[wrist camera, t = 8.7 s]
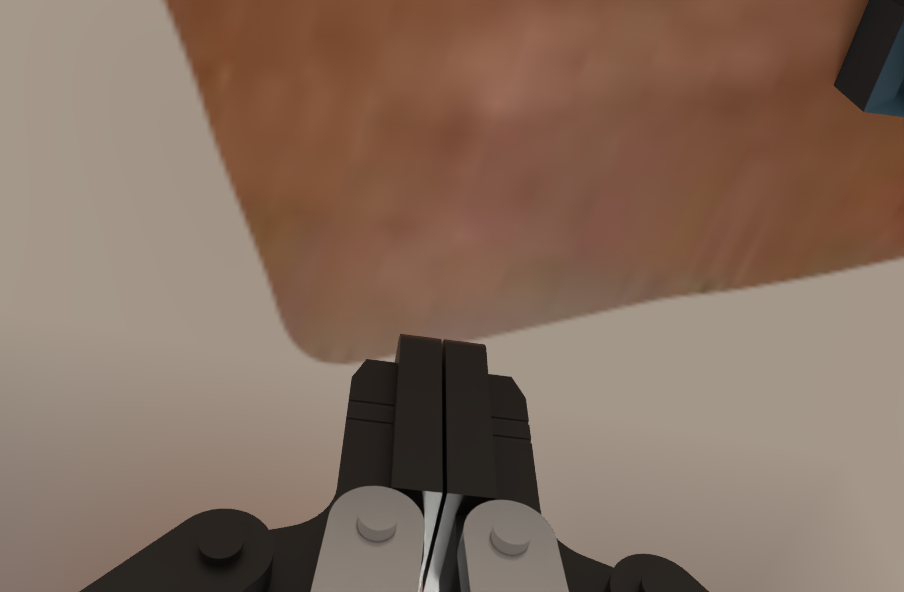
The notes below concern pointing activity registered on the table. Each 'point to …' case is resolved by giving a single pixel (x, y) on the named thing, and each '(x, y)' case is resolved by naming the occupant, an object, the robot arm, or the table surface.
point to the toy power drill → (876, 60)
